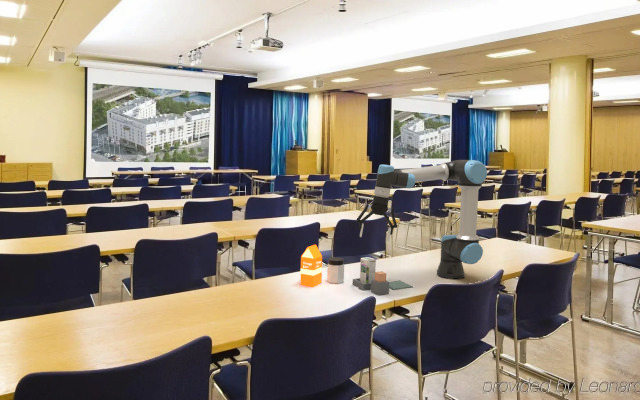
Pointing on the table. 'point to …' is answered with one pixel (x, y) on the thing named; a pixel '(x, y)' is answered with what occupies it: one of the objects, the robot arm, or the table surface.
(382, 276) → the peach square block
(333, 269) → the jar
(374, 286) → the frame
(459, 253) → the robot arm
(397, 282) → the rubber mat
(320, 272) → the orange juice
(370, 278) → the syrup box
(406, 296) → the table surface
